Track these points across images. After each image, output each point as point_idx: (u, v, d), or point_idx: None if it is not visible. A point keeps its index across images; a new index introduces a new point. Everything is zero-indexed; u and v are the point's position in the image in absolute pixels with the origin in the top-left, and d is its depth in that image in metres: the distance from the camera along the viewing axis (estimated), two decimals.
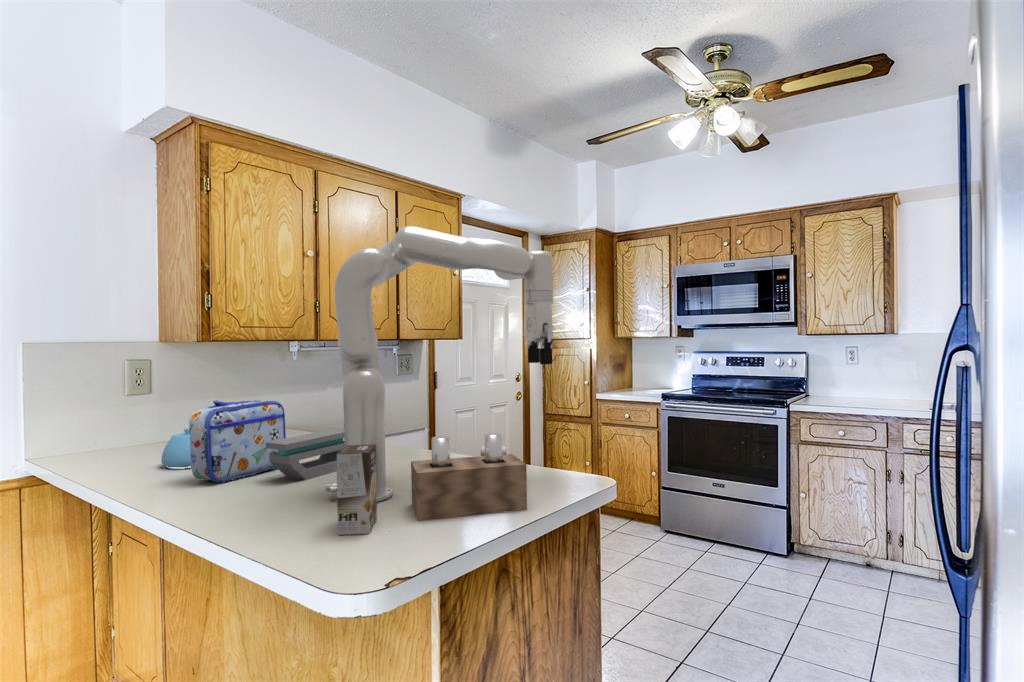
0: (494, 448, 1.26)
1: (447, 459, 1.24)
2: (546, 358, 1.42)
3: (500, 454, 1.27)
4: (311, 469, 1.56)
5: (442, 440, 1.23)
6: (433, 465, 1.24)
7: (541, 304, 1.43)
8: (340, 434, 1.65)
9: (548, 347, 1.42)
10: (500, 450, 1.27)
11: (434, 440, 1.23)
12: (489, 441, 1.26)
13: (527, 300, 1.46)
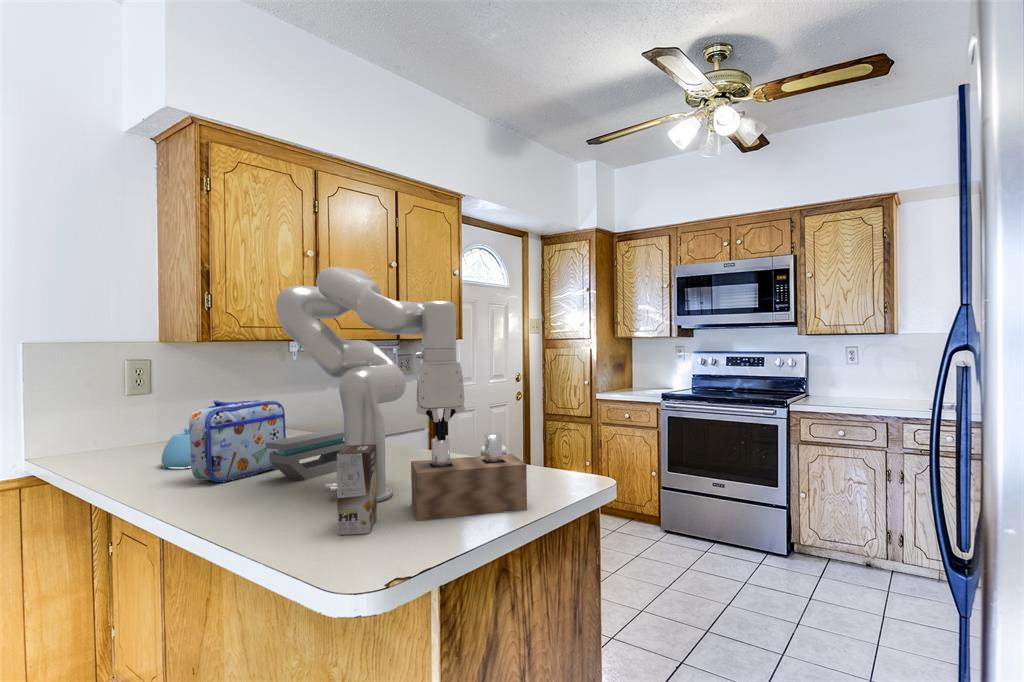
0: (494, 448, 1.26)
1: (447, 460, 1.24)
2: None
3: (500, 454, 1.27)
4: (311, 469, 1.56)
5: (442, 441, 1.23)
6: (433, 466, 1.24)
7: (460, 364, 1.25)
8: (340, 434, 1.65)
9: None
10: (500, 450, 1.27)
11: (434, 441, 1.23)
12: (489, 441, 1.26)
13: (447, 359, 1.22)
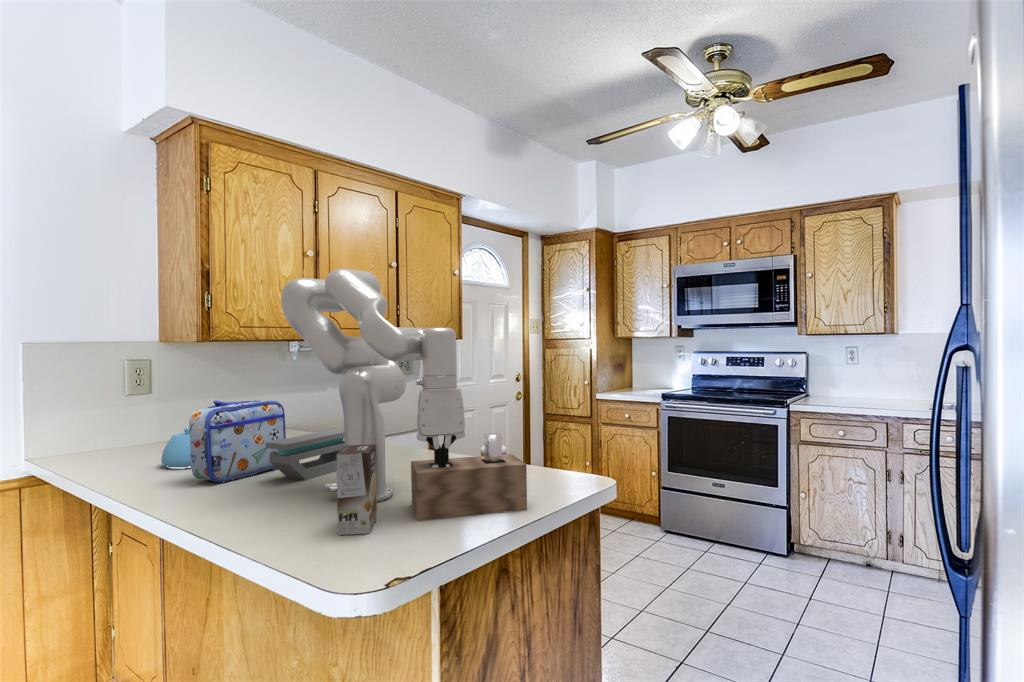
0: (494, 448, 1.26)
1: None
2: None
3: (500, 454, 1.27)
4: (311, 469, 1.56)
5: None
6: None
7: None
8: (340, 434, 1.65)
9: None
10: (500, 450, 1.27)
11: None
12: (489, 441, 1.26)
13: (447, 386, 1.22)
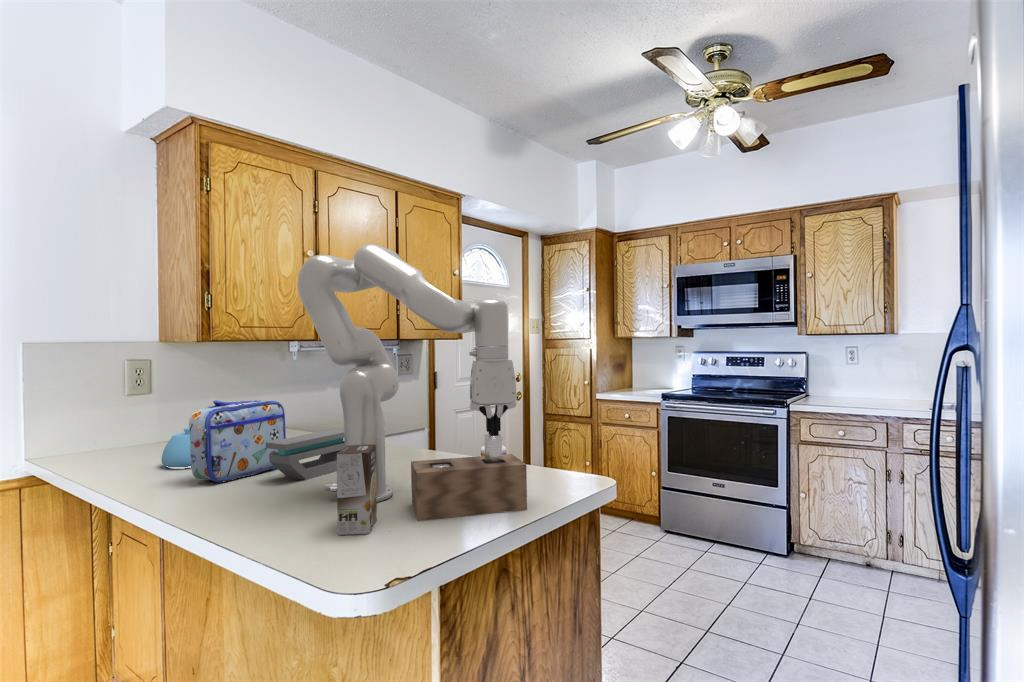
0: (494, 448, 1.26)
1: None
2: None
3: (500, 454, 1.27)
4: (311, 469, 1.56)
5: None
6: None
7: (512, 362, 1.28)
8: (340, 434, 1.65)
9: None
10: (500, 450, 1.27)
11: None
12: (489, 441, 1.26)
13: (500, 357, 1.25)
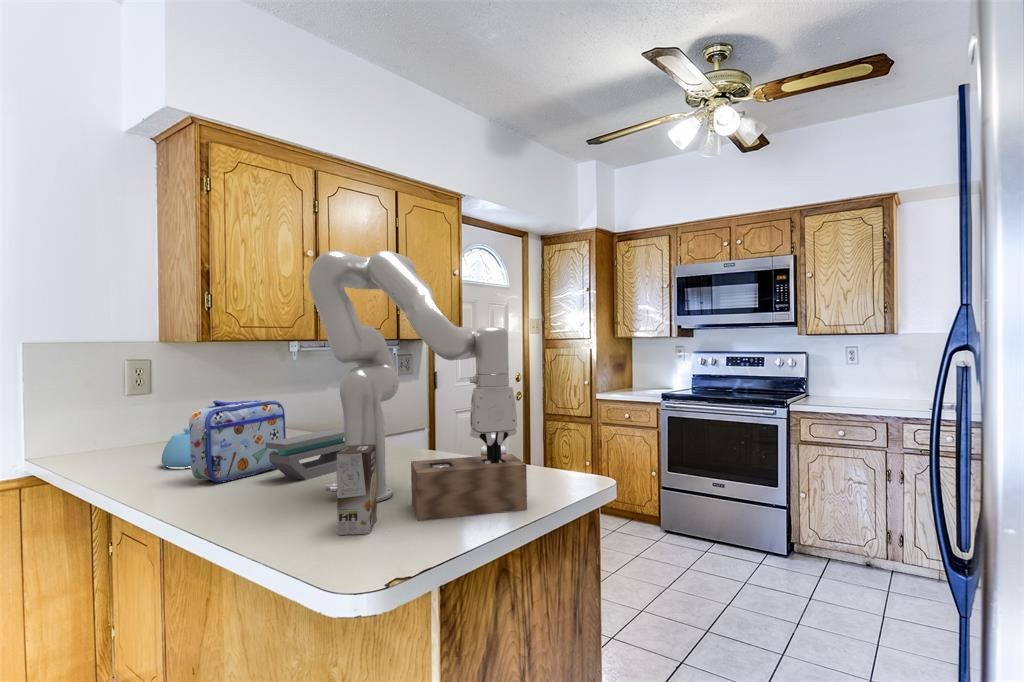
0: None
1: None
2: None
3: None
4: (311, 469, 1.56)
5: None
6: None
7: None
8: (340, 434, 1.65)
9: None
10: None
11: None
12: None
13: (501, 385, 1.25)
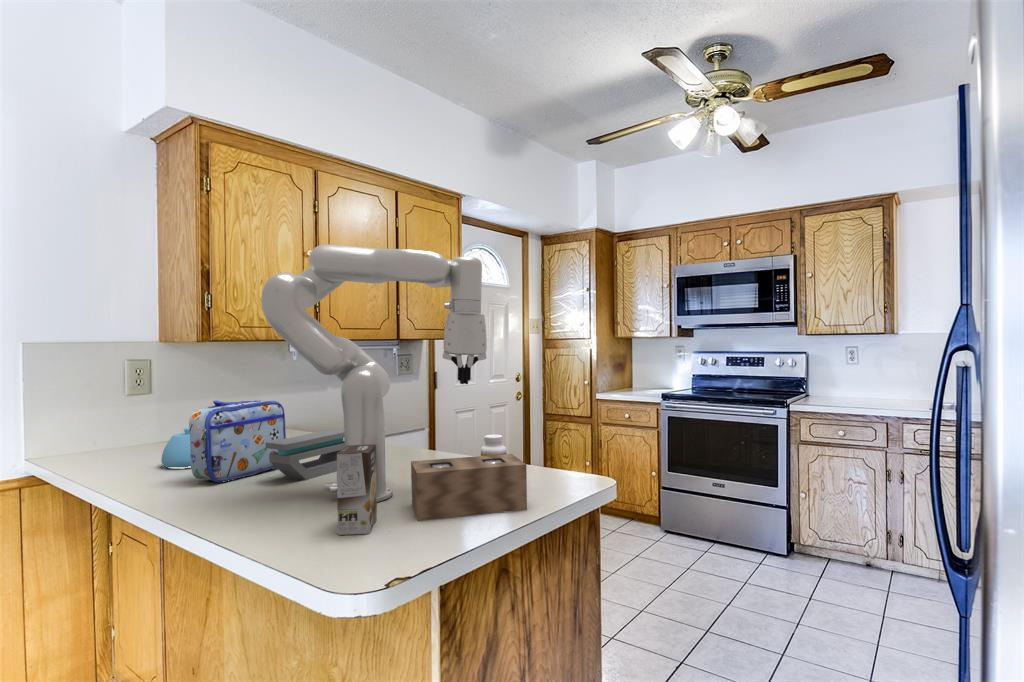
0: None
1: None
2: None
3: None
4: (311, 469, 1.56)
5: None
6: None
7: (484, 316, 1.37)
8: (340, 434, 1.65)
9: None
10: None
11: None
12: None
13: (472, 310, 1.34)
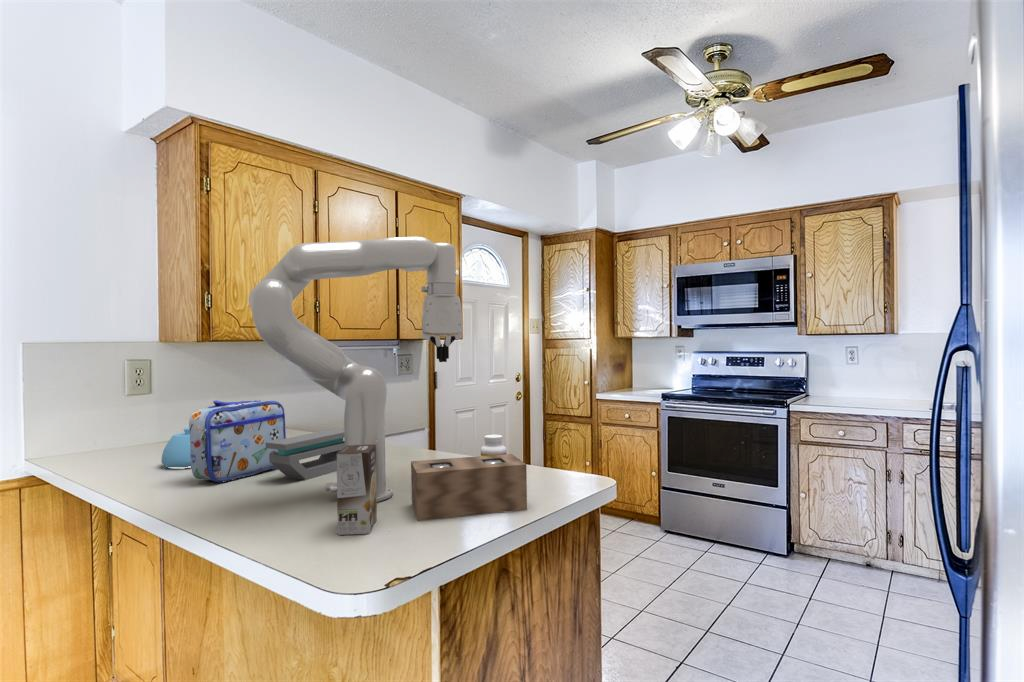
0: None
1: None
2: None
3: None
4: (311, 469, 1.56)
5: None
6: None
7: (459, 298, 1.46)
8: (340, 434, 1.65)
9: None
10: None
11: None
12: None
13: (448, 292, 1.43)
